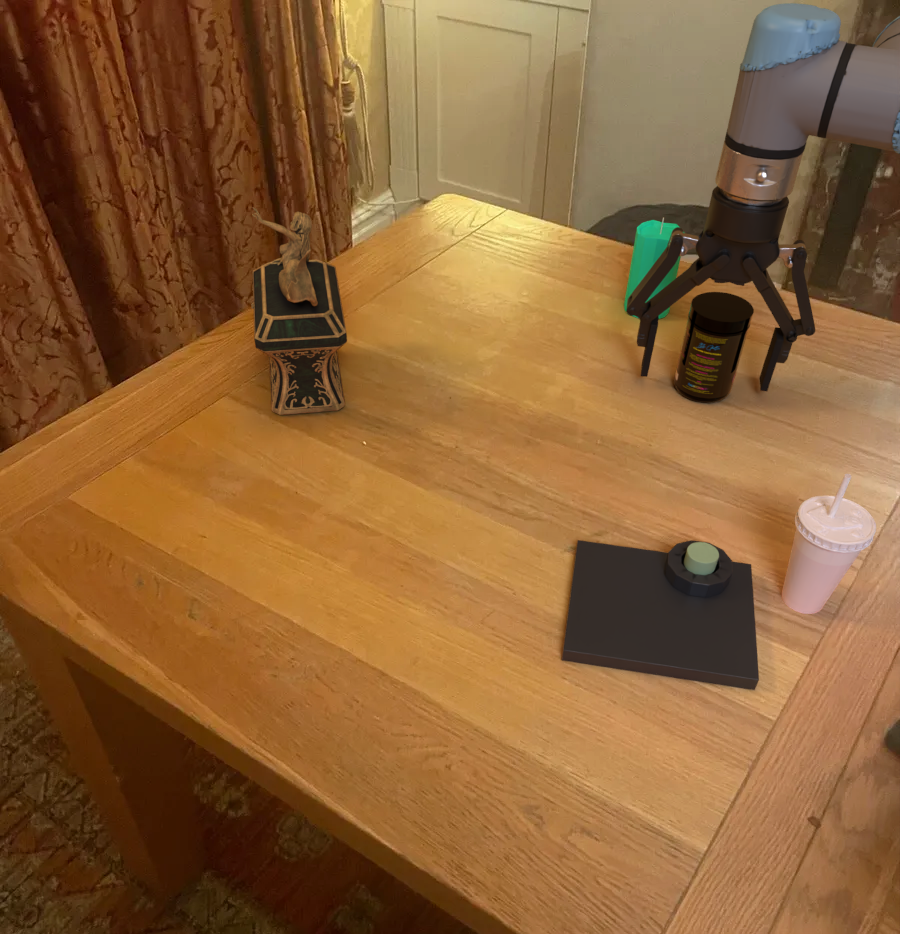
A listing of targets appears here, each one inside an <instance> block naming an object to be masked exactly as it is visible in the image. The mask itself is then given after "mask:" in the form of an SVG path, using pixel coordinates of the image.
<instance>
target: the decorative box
mask: <svg viewBox="0 0 900 934" xmlns="http://www.w3.org/2000/svg"><path fill="white" fill-rule="evenodd" d="M252 210H253V211H255V212H253V213H252V214H251V216H252V217H254V219H256V221H258V222H259V223H260V224H262V225H263V226H266V227H269V228H270V229H272V230H273V231H276V232H278V233H280V234H283V235H284V236H285V237H287V238H288V242H287V243H284V244H281V245H280V246H279V253H280V255H281V257H279V258H276V259H273V260H272V261H269V262H266V263H265V264H262V265H260V266H259V267H257V268H255V269H253V270H252V299H253V301H252V303H251V304H250V307H251V309H252V310H253V334H254V335H253V339H254V345H255V348H256V349H257V350H258V351H260V352H261V353H263V354H265V355H267V356H268V363H269V365H268V366H269V384H270V385H269V386H270V404H271V412H273V413H275V414H277V415H279V416H282V415H283V416H284V415H296V414H309V413H320V412H335V411H339V410H341V409H343V408H344V407H345V406H346V401H345V395H344V388H343V382H342V374H341V367H340V360H339V355H338V351H339V349H341V348H342V347H343V346H344V345H345V344H346V343H347V342H348V333H347V327H346V321H345V316H344V315H345V314H344V310H343V305H342V304H343V303H342V297H341V291H340V285H339V279H338V274H337V268H336V266H335V265H333V264H331V263H328V262H325V261H322V260H320V259H310V257H311V252H312V248H311V237H310V235H311V233H312V229H313V228H312V227H313V224H312V218H311V216H310V215H309V214H307V213H305V212H301V211H295V212H294V214H293V217H292V221H290V222H289V224H290V226H289V227H290V229H288V228H287V227H285V226H283V225H281V224H278V223H276V222H273V221H269V220H265V219H263V218H262V216H261V214H260V212H259V211H258V209H257V208H256V207H254V206H252Z"/></svg>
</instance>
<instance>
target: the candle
mask: <svg viewBox="0 0 900 934" xmlns="http://www.w3.org/2000/svg"><path fill="white" fill-rule="evenodd" d="M664 220H665V217H663V216H662V221H659V220H655V219H650V220H647V221H644V222H641V223H640V224H639V225H637V227H636V231H635V236H634V243H633V249H632V254H631V262H630V266H629V273H628V279H627V284H626V289H625V290H626V291H625V296H624V301H623V309H624V312H626V311H627V301H628V298H629V296H630V295H631V294H632V292H633V291H634V290H635V288H636V287H637V286H638V284H639V283H640V282H641V281H642V279H643V278H644V277H645V275H646V274H647V273H648V271H649V270H650V269H651V267H652V266H653V265H654V263H655V262H656V261H657V260H658V258H659V257H660V256H661V254H662V253H663V252H664V250H665V249H666V248H667V246H668V243H669V239H670V236H671V233H672V231H673V229H675V228H677V227H679V228H681V227H680V226H679V225H678V223H673V222H671V223H670V222H664ZM683 233H685V231H684V230H683ZM681 258H682V256H679V257H678V260H677V261H676V263H675V265H674V266H673V267H672V269H671V270H670V271H669V273H668V274H667V275H666V276H665V278H664V279H663V280H662V282H661V283H660V284H659V285H658V287H657V288H656V289H655V290H654V292H653V293H652V294H651V296H650V297H649V298H648V299H647V301H649V300H650V299H651V298H652V297H654V296H655V295H656V294H657V293H659V292H660V291H661V290H662V289H664V288H665V287H666V286H667V285H669V284H670V283H671V282H672V281H673V280H675V279H676V278H677V277H678V273H679V267H680V263H681ZM647 301H646V302H647ZM646 302H645V303H646ZM670 310H671V306H670V307H669V308H668V309H666V310H665V311H664V312H663V313H661V314H660V315H659V316H658V320H660V319H664V318H665V317H666V316H667V315H668V314H670ZM632 317H633V318H636V319H639V318H638V317H637V316H634V315H633V316H632Z"/></svg>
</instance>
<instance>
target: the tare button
mask: <svg viewBox="0 0 900 934" xmlns="http://www.w3.org/2000/svg"><path fill="white" fill-rule="evenodd" d="M705 542H706V541H701V542H695V543H692V544H691V545H689V546H688V548H687V552H686V555H685V559H684V566H685V568H686V569H687V570H688V571H690V572H692V573H694V574H698V575H709V574H711V573H712V572H714V570H715V567H716V564H717V561H718V558H719V552H718V550H717V549H716V548H715V547H714V546H712V545H710V544H708V543H709V542H708V543H705Z"/></svg>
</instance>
